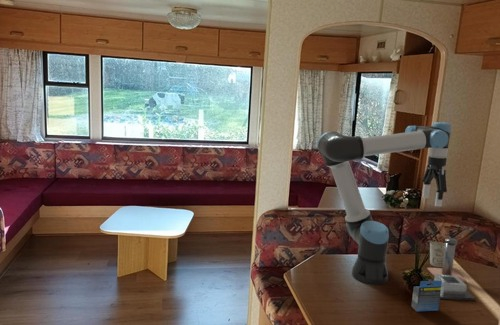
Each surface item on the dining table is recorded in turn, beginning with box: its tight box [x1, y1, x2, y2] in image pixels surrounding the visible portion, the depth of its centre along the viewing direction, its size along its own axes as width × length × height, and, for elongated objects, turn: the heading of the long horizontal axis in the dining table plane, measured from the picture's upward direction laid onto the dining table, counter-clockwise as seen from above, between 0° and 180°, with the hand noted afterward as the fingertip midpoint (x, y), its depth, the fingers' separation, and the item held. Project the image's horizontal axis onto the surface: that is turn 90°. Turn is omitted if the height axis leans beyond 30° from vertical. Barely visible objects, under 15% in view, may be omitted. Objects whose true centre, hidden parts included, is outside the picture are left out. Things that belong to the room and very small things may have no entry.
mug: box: [429, 241, 446, 268], centre depth 196 cm, size 8×13×10 cm, turn 145°
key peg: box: [441, 237, 458, 275], centre depth 182 cm, size 5×5×16 cm
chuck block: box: [431, 274, 476, 301], centre depth 169 cm, size 14×14×5 cm
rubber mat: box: [427, 267, 467, 283], centre depth 184 cm, size 12×12×1 cm
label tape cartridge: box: [410, 280, 442, 312], centre depth 153 cm, size 9×4×12 cm, turn 99°
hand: (431, 202), depth 189 cm, fingers open, 13 cm apart
